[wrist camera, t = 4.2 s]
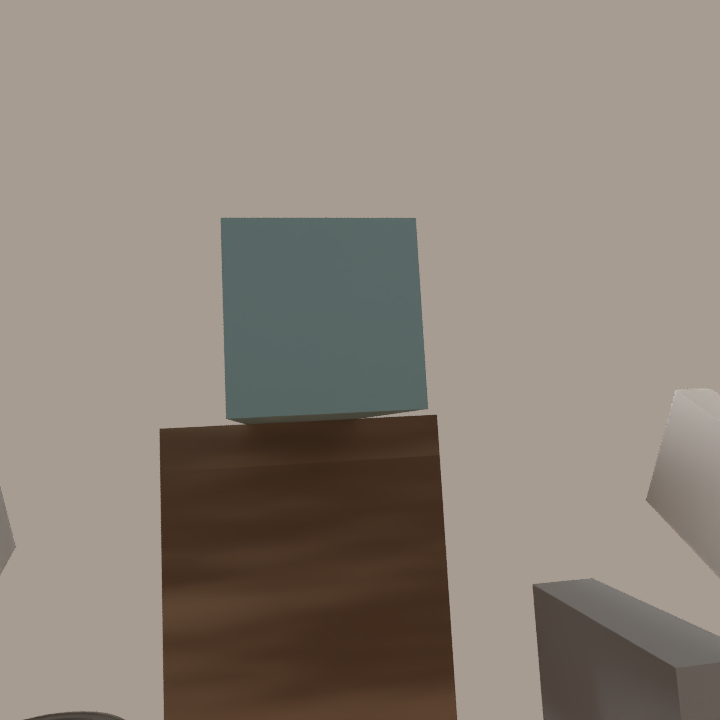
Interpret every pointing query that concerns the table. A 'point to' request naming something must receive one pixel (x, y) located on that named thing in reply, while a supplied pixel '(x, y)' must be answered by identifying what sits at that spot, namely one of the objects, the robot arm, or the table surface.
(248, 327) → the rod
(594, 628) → the pedestal
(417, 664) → the walnut wood block
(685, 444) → the robot arm
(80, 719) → the coffee can
